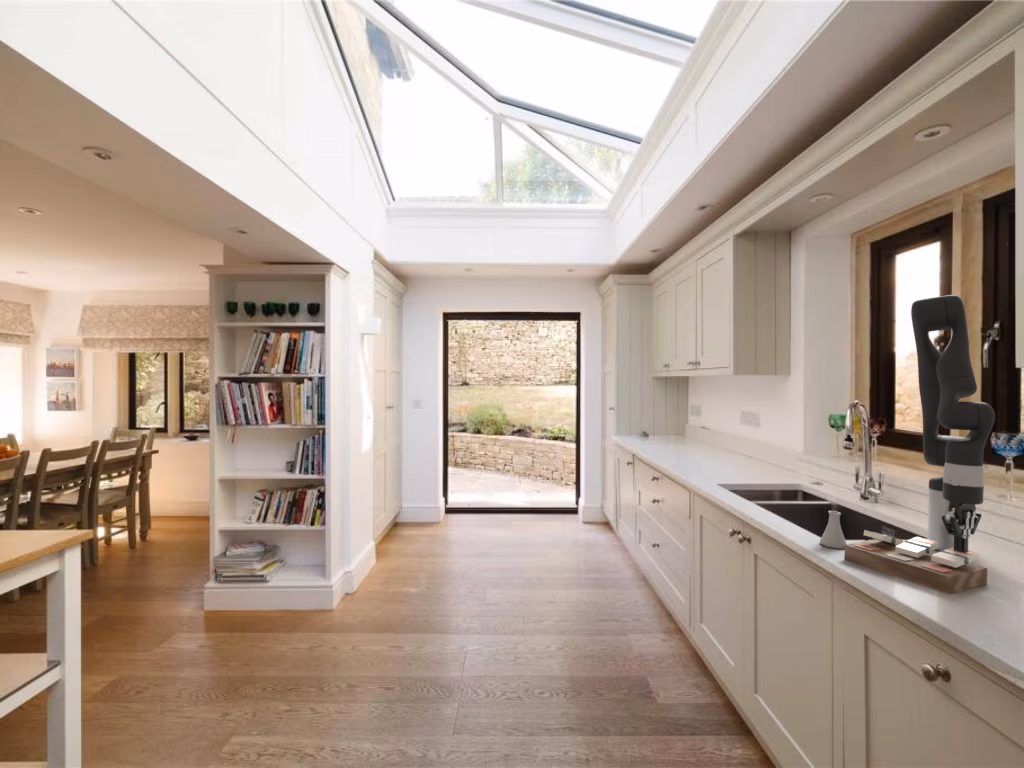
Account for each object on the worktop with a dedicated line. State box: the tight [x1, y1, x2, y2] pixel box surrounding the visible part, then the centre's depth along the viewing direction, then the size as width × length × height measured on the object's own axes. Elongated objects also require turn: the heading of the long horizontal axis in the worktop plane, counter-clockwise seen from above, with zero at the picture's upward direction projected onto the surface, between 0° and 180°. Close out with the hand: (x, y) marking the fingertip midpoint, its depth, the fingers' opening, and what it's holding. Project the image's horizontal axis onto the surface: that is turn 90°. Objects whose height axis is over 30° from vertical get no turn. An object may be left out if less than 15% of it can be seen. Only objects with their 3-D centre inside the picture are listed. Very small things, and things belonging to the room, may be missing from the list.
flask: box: [819, 510, 848, 550], centre depth 150 cm, size 7×7×10 cm
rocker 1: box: [863, 529, 904, 545], centre depth 138 cm, size 9×5×2 cm, turn 114°
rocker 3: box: [931, 547, 977, 568], centre depth 123 cm, size 9×5×2 cm, turn 114°
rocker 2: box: [895, 536, 938, 558], centre depth 131 cm, size 9×5×2 cm, turn 114°
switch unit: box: [844, 539, 988, 595], centre depth 130 cm, size 16×24×4 cm, turn 24°
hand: (960, 552), depth 125 cm, fingers closed
